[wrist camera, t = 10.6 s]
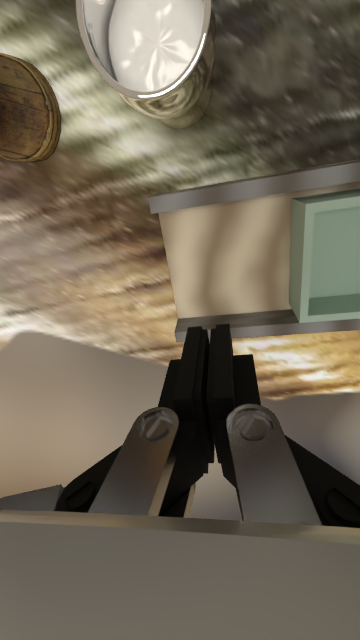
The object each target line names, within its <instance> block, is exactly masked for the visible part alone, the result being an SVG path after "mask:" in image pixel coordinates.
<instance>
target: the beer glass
mask: <svg viewBox="0 0 360 640" xmlns="http://www.w3.org/2000/svg"><path fill="white" fill-rule="evenodd" d="M76 13H77V21H78V26H79V31H80V35H81V38H82V41H83V44H84V47H85V50H86V52H87V54H88V56H89V58H90V60H91V62H92V64H93V66H94V67H95V69H96V70H97V72H98V73H99V74H100V76H101V77H102V78H103V79H104V80H105V81H106V82H107V83H108V84H109V85H110V86H111V87H112V88H113V89H114V90H115V92H116V93H117V94H118V95H119V96H120V97H121V98H122V99H123V100H124V101H125V102H127V103H128V104H129V105H130V106H131V107H133V108H134V109H136V110H137V111H139V112H141V113H143V114H144V115H147V116H149V117H152V118H156V119H160V120H161V121H162V122H163V123H164V124H166V125H167V126H170V127H172V128H186V127H189V126H191V125H193V124H194V123H196V122H197V121H198V120H199V119H200V118H201V117H202V116H203V114H204V113H205V111H206V109H207V107H208V105H209V102H210V98H211V93H212V79H211V75H212V71H213V67H214V62H215V53H216V23H215V13H214V7H213V1H212V0H76Z"/></svg>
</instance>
